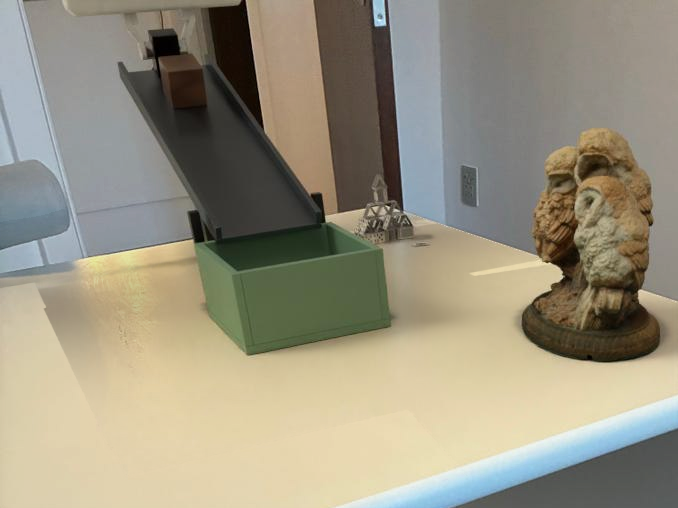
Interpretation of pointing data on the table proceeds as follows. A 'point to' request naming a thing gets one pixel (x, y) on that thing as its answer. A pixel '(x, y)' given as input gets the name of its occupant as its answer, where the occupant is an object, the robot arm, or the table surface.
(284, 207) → the grey slide chute
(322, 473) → the table surface
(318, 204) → the stand
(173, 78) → the block
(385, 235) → the house of cards
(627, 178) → the owl figurine
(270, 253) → the green storage bin
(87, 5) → the robot arm
